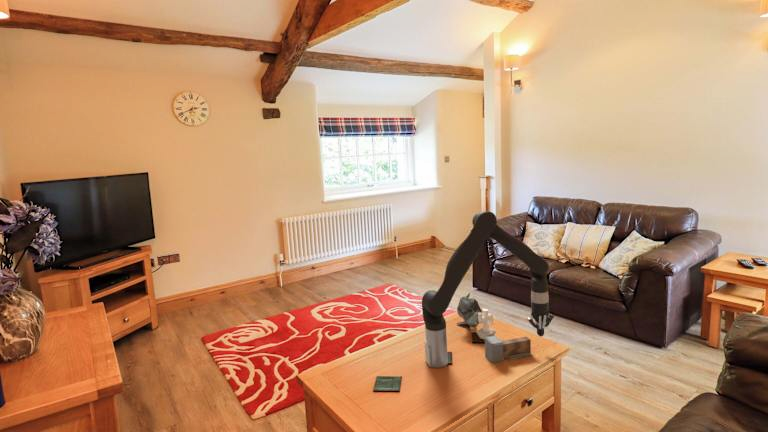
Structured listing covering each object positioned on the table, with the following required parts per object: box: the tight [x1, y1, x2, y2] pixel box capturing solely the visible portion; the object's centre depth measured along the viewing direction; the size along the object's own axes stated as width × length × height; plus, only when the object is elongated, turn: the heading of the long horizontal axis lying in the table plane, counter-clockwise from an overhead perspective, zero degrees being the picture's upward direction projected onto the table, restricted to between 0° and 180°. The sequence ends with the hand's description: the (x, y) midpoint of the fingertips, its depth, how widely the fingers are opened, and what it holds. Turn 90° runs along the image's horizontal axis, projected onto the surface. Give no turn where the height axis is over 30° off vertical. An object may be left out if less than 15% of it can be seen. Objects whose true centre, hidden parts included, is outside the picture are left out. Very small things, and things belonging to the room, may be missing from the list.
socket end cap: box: [484, 335, 505, 364], centre depth 192 cm, size 6×7×9 cm
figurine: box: [475, 307, 497, 341], centre depth 212 cm, size 7×9×15 cm
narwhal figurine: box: [456, 292, 482, 333], centre depth 223 cm, size 14×15×18 cm
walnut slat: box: [501, 336, 532, 360], centre depth 194 cm, size 14×3×7 cm, turn 102°
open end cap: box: [508, 352, 531, 361], centre depth 195 cm, size 10×7×2 cm
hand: (540, 335), depth 197 cm, fingers closed
